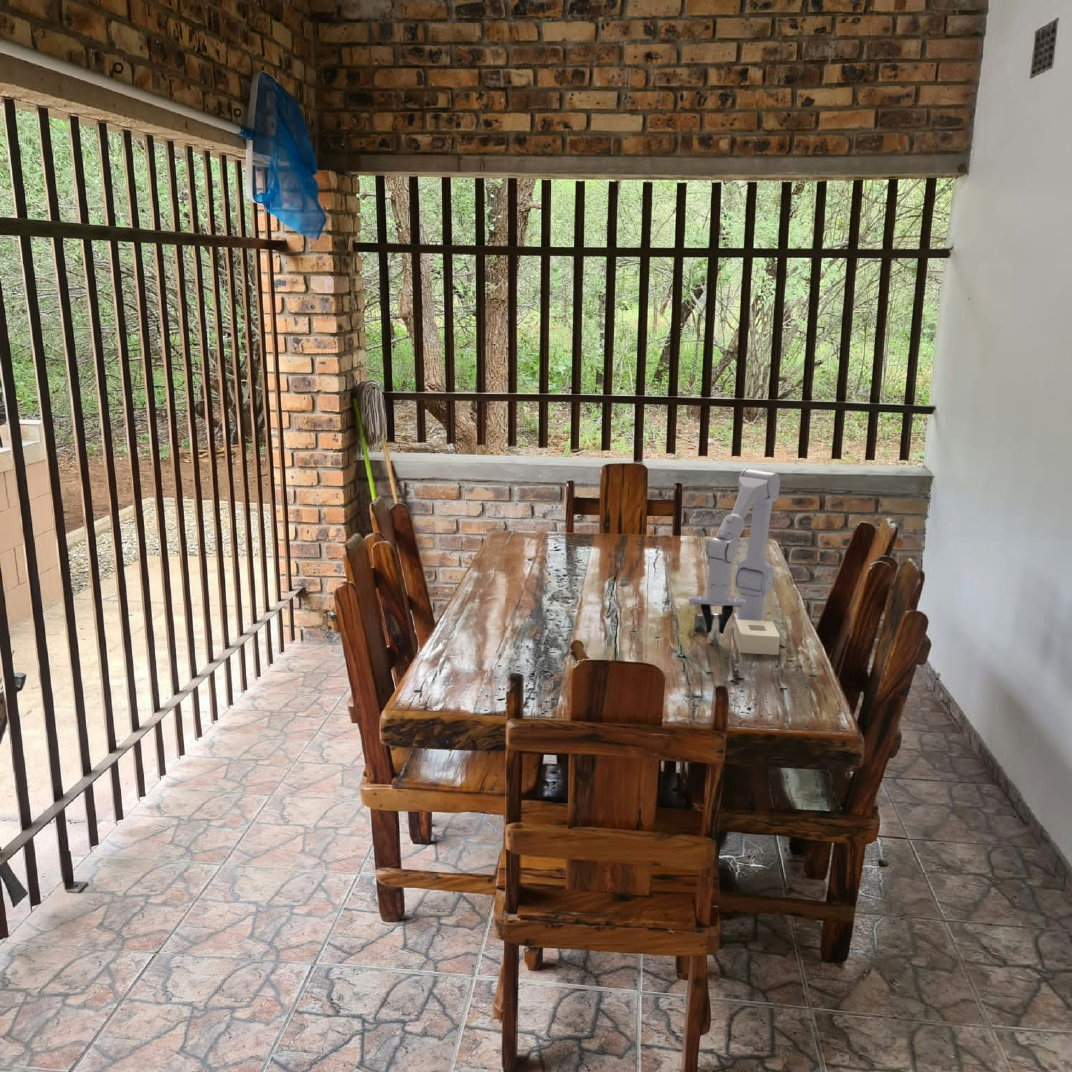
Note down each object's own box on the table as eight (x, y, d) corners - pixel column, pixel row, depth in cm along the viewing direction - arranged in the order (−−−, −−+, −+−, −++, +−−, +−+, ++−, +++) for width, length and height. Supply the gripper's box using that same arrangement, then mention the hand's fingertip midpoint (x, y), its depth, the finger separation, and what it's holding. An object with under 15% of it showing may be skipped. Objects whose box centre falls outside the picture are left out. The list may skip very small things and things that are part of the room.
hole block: (733, 636, 261) (735, 619, 260) (771, 638, 260) (772, 621, 259) (739, 652, 249) (740, 634, 248) (778, 654, 248) (780, 636, 247)
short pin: (693, 627, 267) (694, 612, 266) (704, 628, 267) (705, 613, 266) (694, 631, 264) (695, 616, 263) (705, 632, 264) (706, 616, 263)
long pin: (707, 640, 257) (709, 612, 255) (719, 641, 257) (721, 612, 255) (708, 644, 254) (710, 615, 252) (720, 645, 254) (722, 616, 252)
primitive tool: (602, 680, 230) (602, 666, 229) (580, 681, 229) (580, 667, 228) (583, 651, 248) (583, 638, 247) (562, 652, 247) (562, 639, 246)
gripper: (691, 586, 248) (688, 635, 251) (748, 589, 247) (744, 638, 250) (689, 578, 255) (686, 626, 258) (745, 581, 254) (740, 629, 257)
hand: (714, 632), depth 255 cm, fingers closed on long pin, 3 cm apart
